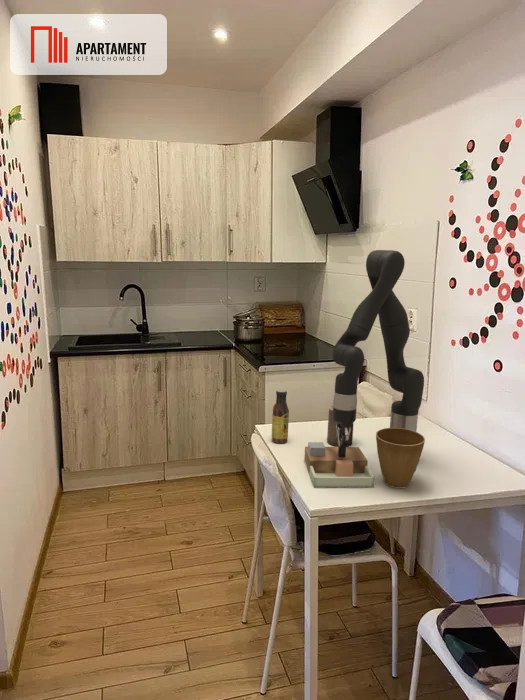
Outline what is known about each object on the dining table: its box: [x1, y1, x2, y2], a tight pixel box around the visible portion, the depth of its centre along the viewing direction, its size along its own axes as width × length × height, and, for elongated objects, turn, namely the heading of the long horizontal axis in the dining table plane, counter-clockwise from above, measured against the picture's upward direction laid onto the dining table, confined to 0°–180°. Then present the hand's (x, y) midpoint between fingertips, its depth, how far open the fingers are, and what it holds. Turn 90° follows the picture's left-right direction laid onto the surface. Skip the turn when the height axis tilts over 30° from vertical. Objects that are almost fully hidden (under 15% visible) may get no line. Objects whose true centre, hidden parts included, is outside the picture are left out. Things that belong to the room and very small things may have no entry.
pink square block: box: [335, 460, 353, 477], centre depth 166 cm, size 5×5×3 cm
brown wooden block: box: [303, 446, 368, 474], centre depth 174 cm, size 19×12×5 cm, turn 93°
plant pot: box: [375, 427, 426, 489], centre depth 162 cm, size 15×15×16 cm
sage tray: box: [308, 465, 376, 489], centre depth 164 cm, size 19×9×3 cm, turn 93°
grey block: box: [307, 441, 326, 456], centre depth 173 cm, size 5×5×3 cm
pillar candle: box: [326, 405, 355, 447], centre depth 196 cm, size 10×10×15 cm
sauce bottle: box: [271, 389, 290, 444], centre depth 195 cm, size 7×6×20 cm
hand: (341, 456), depth 169 cm, fingers closed
